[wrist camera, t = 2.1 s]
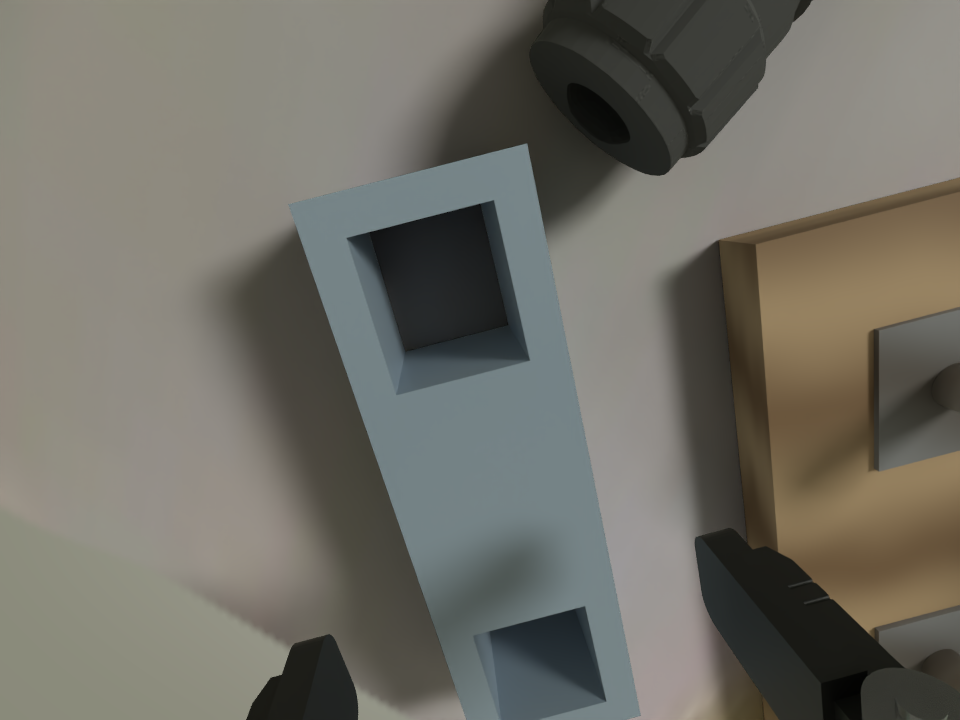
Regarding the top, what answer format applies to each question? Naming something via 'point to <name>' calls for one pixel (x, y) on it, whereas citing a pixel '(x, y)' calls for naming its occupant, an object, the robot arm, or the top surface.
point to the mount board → (857, 410)
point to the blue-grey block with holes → (482, 450)
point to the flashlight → (656, 69)
